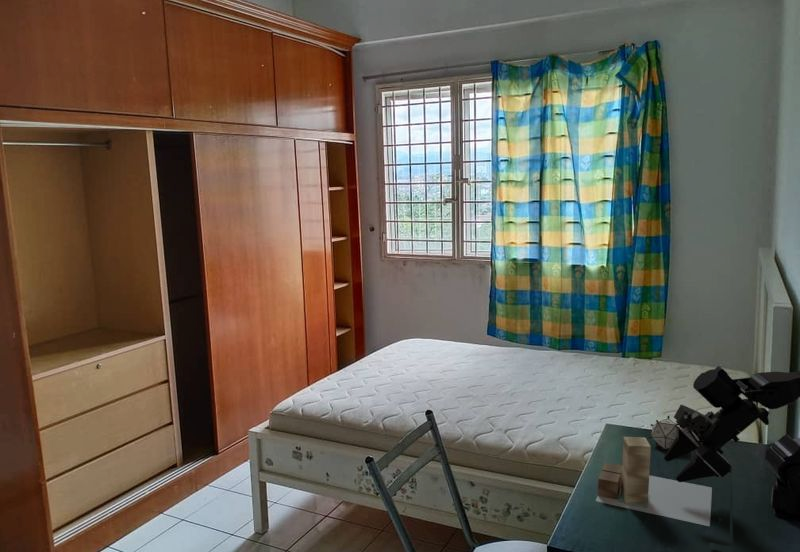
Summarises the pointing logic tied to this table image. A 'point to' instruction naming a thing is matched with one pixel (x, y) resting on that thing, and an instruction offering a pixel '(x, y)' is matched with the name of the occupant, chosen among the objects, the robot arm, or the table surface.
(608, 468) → the cube
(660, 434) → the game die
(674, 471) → the table surface
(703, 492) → the board
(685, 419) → the robot arm
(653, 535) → the table surface
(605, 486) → the cube
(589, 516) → the table surface
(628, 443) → the pillar
